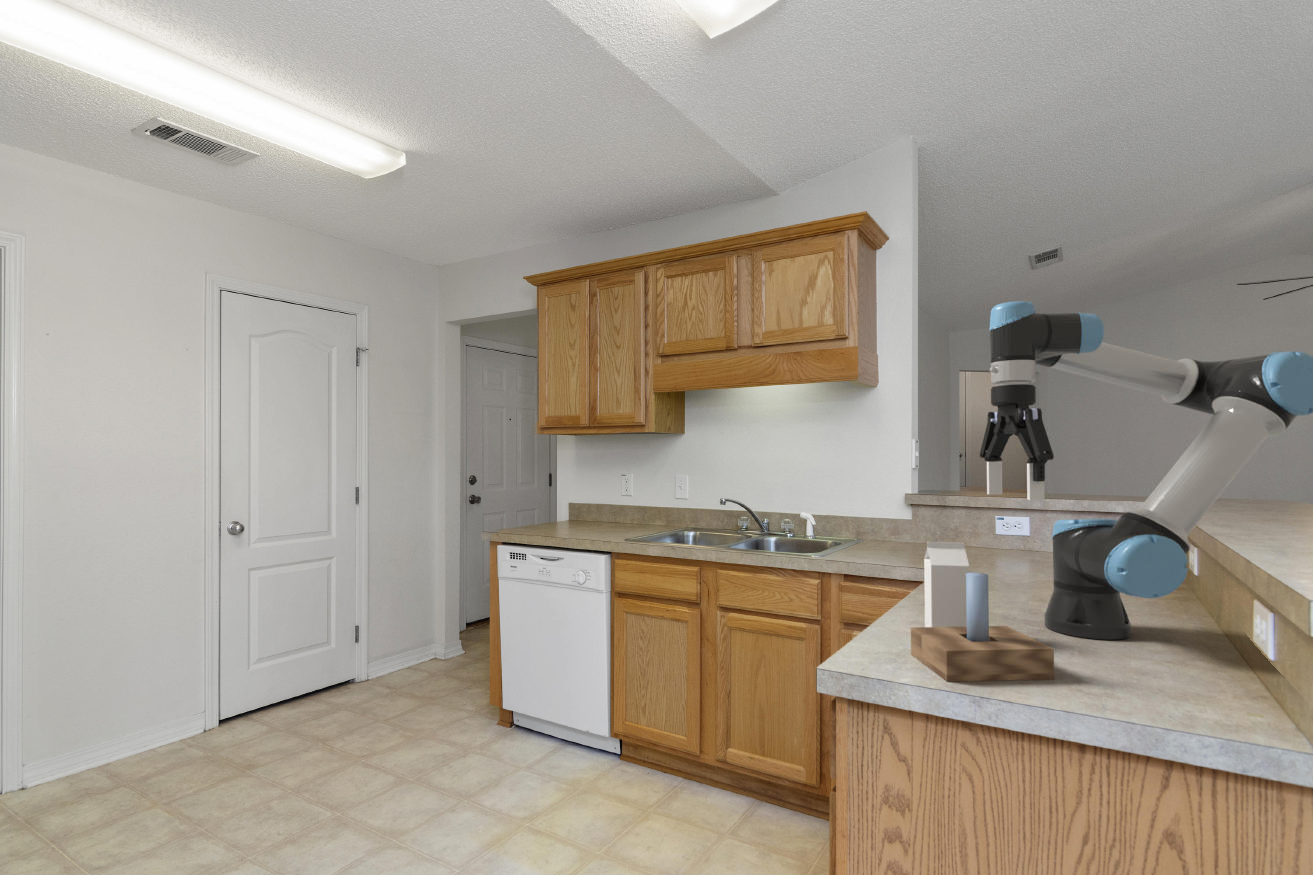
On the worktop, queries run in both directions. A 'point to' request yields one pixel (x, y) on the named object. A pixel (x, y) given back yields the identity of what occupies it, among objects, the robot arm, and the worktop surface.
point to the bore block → (982, 654)
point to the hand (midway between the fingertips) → (1014, 497)
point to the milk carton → (945, 584)
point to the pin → (977, 607)
